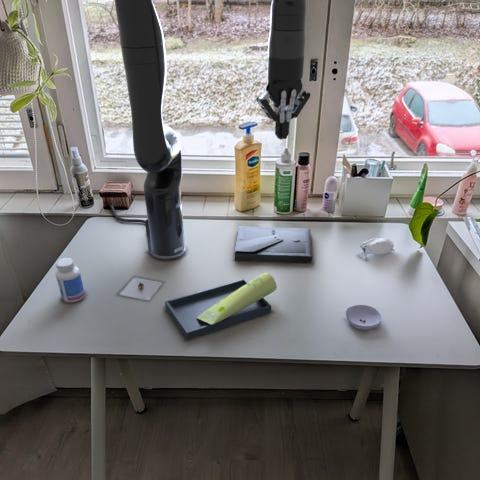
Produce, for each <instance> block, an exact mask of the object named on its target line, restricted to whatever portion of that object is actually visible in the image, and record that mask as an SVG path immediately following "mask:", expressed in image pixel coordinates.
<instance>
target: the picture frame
mask: <svg viewBox="0 0 480 480" xmlns="http://www.w3.org/2000/svg"><path fill="white" fill-rule="evenodd" d="M237 229H238V230H237V235H236V242H235V246H234V261H243V262H244V261H247V262H248V261H249V262H268V263H269V262H272V263H273V262H274V263H295V264H296V263H297V264H313V246H312V234H311V233H312V232H311V228H306V227H305V228H300V227H279V226H278V227H277V226H276V227H275V226H274V227H272V226H271V227H270V226H250V225H249V226H248V225H247V226H245V225H238V228H237Z"/></svg>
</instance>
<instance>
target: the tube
mask: <svg viewBox="0 0 480 480" xmlns="http://www.w3.org/2000/svg"><path fill="white" fill-rule="evenodd" d="M248 282H249V283H247V284H246V285H244V286H242V287H241V288H239V289H238V290H236V291H234V292H233V293H231V294H230V295H228V296H227V297H225V298H224V299H222V300H221V301H219V302H218V303H216V304H215V305H213V306H212V307H210V308H209V309H207V310H206V311H205V312H203V313H202V314H201V315H199V316H198V317H197V319H199V320H202V321H204V322H207V323H209V324H211V325H212V324H215V323H217V322H220V321H222V320H224V319H225V318H227V317H229V316H231V315H233V314H235V313H237V312H239V311H241V310H242V309H244V308H246V307H248V306H250V305H251V304H253V303H255V302H257V301H258V300H260V299H262V298H264V299H265V297H267V296H269V295H271V294H273V293H275V291H276V290H277V286H278V285H277V282H276V280H275V278H274V277H273V275H271V274H270V273H269V272H263V273H262V274H260V275H258V276H257V277H255V278H254V279H252V280H250V281H248Z"/></svg>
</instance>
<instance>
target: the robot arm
mask: <svg viewBox="0 0 480 480" xmlns="http://www.w3.org/2000/svg"><path fill="white" fill-rule="evenodd" d="M114 6H115V14H116V15H115V16H116V20H117V27H118V33H119V34H118V35H119V42H120V43H119V44H120V49H121V56H122V62H123V67H124V72H125V79H126V87H127V92H128V93H127V94H128V100H129V107H130V113H131V126H132V130H131V131H132V145H133V153H134V154H133V155H134V157H135V160H136V162H137V164H138V165H139V167H140V168H141V169H142V170H143V171H145V172H146V176H145V179H144V182H143V192H144V193H143V194H144V201H145V210H146V217H147V218H146V219H138V218H123V217H121V216H119V215H118V214H117V212H116V210H115V207H114V204H113V205H110V204H109V206H110V210H111V212H112V214H113V216H114V218H115V219H117V220H118V221H120V222H125V223H142V224H144V225H145V234H146V241H147V242H146V243H147V250H148V253H150V254H151V256H153V257H154V258H156V259H158V260H162V261H163V260H164V261H167V260H169V261H170V260H176V259H178V258H181V257H183V256H184V254H185V253H186V245H185V230H184V215H183V204H182V191H181V185H182V181H183V155H182V154H183V153H182V145H181V141H180V137H179V136H178V134H177V133H176V131H175V130H174V129H173V128H171V127H170V126H168V125H165V124H164V120H163V103H164V102H163V101H164V94H165V88H166V80H167V70H168V69H167V55H166V44H165V38H164V37H165V36H164V32H163V28H162V24H161V21H160V19H159V16H158V13H157V10H156V8H155V4H154V2H153V0H114ZM269 20H270V21H269V35H268V44H267V68H266V69H267V71H266V72H267V73H266V77H267V84H266V86H265V92H264V93H263V94H261V96H260V95H259V96H257V97H256V99H255V100H256V102H257V104H258V105H259V107H260V108H261V110H262V111H263V112H264V113H265V116H266V117H267V118H268V119H269V120H272V121H273V122H275V123H274V125H275V126H274V134H275V136H276V138H277V139H279V140H287V138H288V136H289V134H290V122H291V121H292V120H293V119H294V118H295V119H297V118H298V116H299V115H300V113H301V112H302V110H303V108H304V107H305V105H307V102H308V101H309V99H310V98H311V93H310V92H309V91H306V90H305V89H304V88H303V82H302V79H303V76H304V64H305V51H306V50H305V49H306V20H307V0H271V4H270V19H269ZM271 103H272V106H271Z"/></svg>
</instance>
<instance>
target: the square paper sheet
mask: <svg viewBox="0 0 480 480" xmlns="http://www.w3.org/2000/svg"><path fill="white" fill-rule="evenodd" d="M162 285H163V282H161V281H155V280H150V279H145V278H139V277H133V278H131V280H130V281H129V283H128V284H126V286H125V287H124V288H123V289H122V291H120V292H119V294H118V295H120V296H124V297H129V298H135V299H139V300H145V301H150V300H151V298H152V297H153V296H154V295H155V294H156V292H157V291H158V289H159V288H161V286H162Z"/></svg>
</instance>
